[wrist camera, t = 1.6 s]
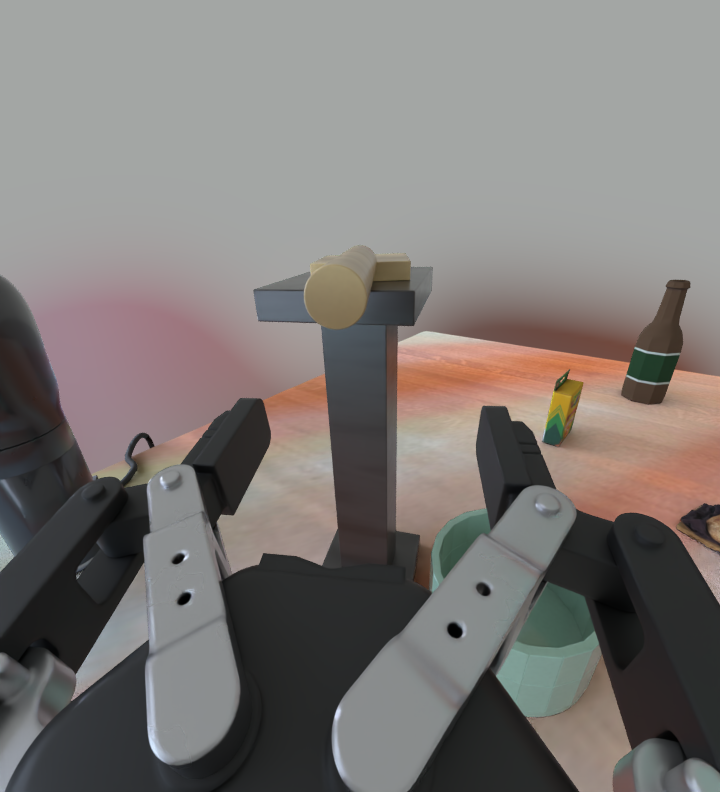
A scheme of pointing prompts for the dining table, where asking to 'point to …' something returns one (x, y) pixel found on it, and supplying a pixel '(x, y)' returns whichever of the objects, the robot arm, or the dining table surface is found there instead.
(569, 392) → the crayon box
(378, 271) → the rice paddle
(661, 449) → the dining table surface
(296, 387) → the dining table surface
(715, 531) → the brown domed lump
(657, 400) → the beer bottle
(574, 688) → the pot
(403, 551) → the stand
